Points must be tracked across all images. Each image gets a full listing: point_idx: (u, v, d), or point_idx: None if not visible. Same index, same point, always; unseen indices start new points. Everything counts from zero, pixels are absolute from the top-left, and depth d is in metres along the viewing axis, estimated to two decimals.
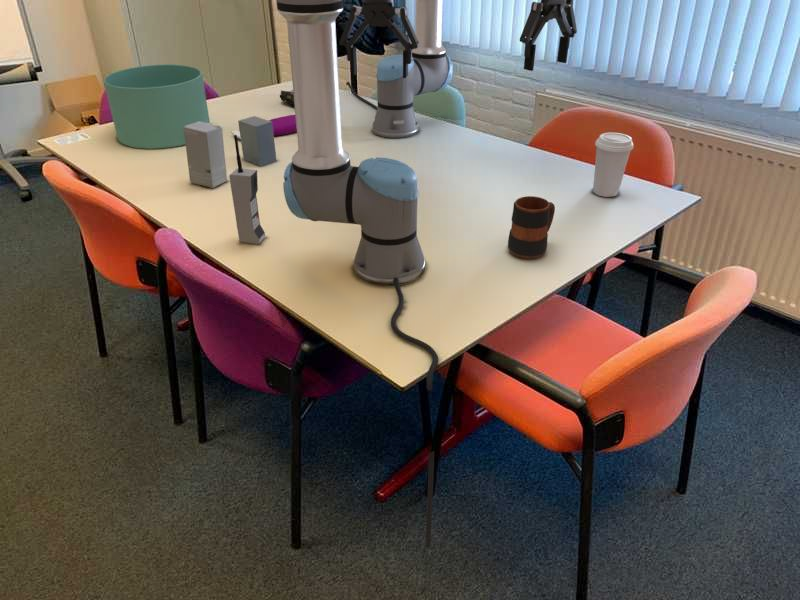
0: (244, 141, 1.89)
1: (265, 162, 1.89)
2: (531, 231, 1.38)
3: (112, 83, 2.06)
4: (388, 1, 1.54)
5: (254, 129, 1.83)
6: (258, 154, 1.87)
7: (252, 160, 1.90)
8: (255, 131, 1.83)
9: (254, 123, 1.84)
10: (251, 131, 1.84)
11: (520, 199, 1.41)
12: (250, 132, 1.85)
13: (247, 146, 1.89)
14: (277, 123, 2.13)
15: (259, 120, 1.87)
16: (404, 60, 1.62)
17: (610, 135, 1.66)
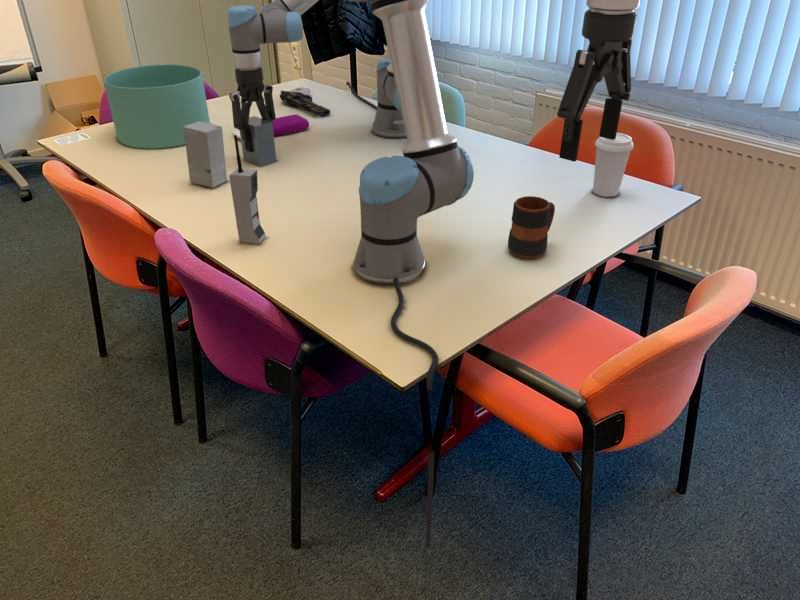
0: None
1: (265, 162, 1.89)
2: (531, 231, 1.38)
3: (112, 83, 2.06)
4: None
5: (254, 129, 1.83)
6: (258, 154, 1.87)
7: (252, 160, 1.90)
8: (255, 131, 1.83)
9: (254, 123, 1.84)
10: (251, 131, 1.84)
11: (520, 199, 1.41)
12: None
13: None
14: (277, 123, 2.13)
15: (259, 120, 1.87)
16: (619, 114, 1.08)
17: None
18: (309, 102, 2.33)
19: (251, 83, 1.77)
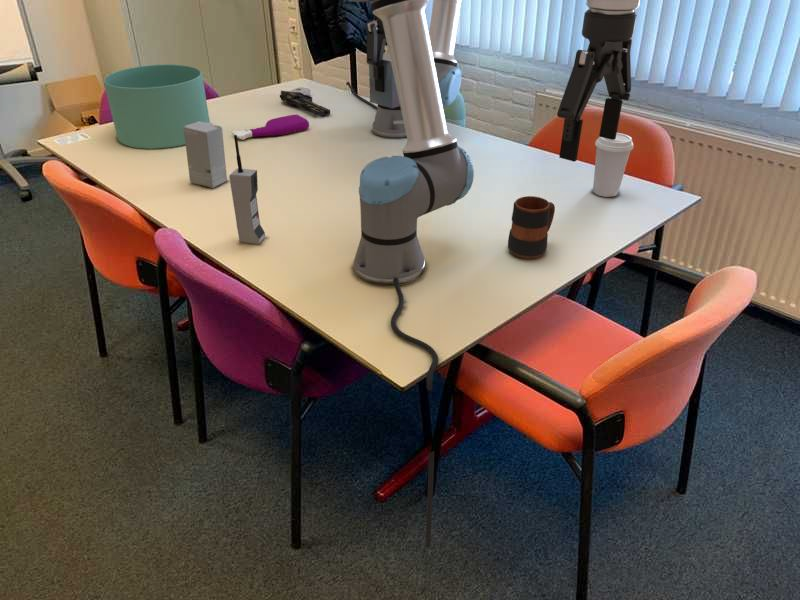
0: (373, 80, 1.70)
1: (396, 104, 1.70)
2: (531, 231, 1.38)
3: (112, 83, 2.06)
4: None
5: (389, 64, 1.64)
6: (390, 94, 1.68)
7: (381, 102, 1.71)
8: (390, 67, 1.64)
9: (388, 59, 1.65)
10: (385, 68, 1.65)
11: (520, 199, 1.41)
12: None
13: None
14: (277, 123, 2.13)
15: None
16: (619, 114, 1.08)
17: None
18: (309, 102, 2.33)
19: None
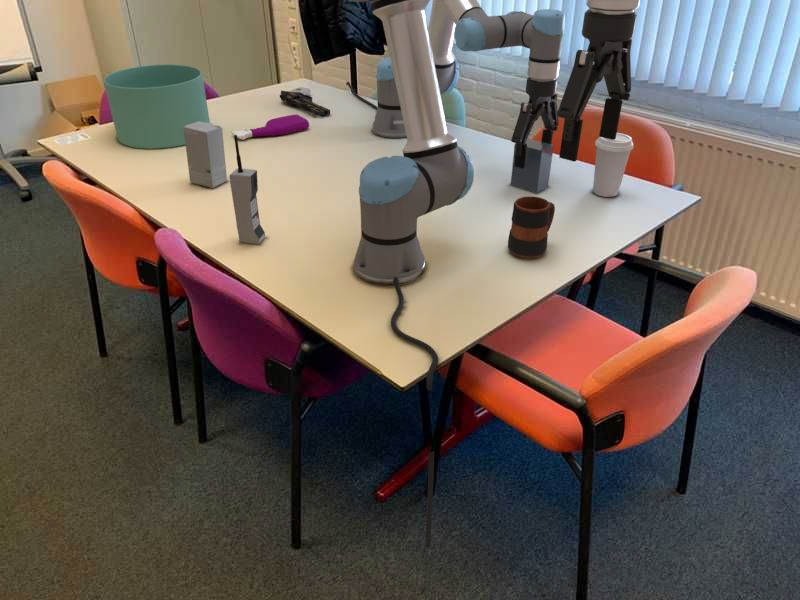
0: None
1: (540, 189, 1.73)
2: (531, 231, 1.38)
3: (112, 83, 2.06)
4: None
5: (539, 153, 1.67)
6: (536, 180, 1.71)
7: (524, 186, 1.74)
8: (539, 155, 1.67)
9: (536, 147, 1.68)
10: (533, 156, 1.68)
11: (520, 199, 1.41)
12: (531, 157, 1.69)
13: (520, 171, 1.73)
14: (277, 123, 2.13)
15: (538, 143, 1.71)
16: (619, 114, 1.08)
17: None
18: (309, 102, 2.33)
19: (547, 96, 1.59)
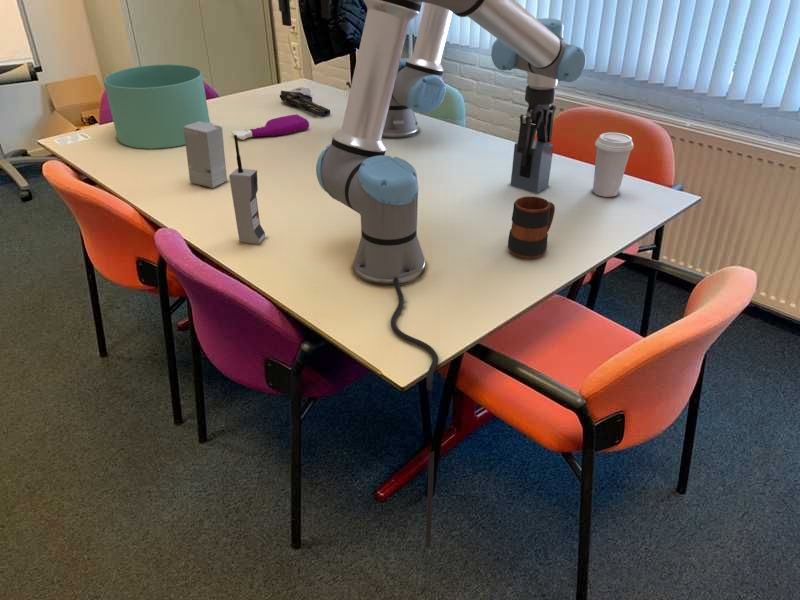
0: (517, 165, 1.73)
1: (540, 189, 1.73)
2: (531, 231, 1.38)
3: (112, 83, 2.06)
4: None
5: (539, 153, 1.67)
6: (536, 180, 1.71)
7: (524, 186, 1.74)
8: (539, 155, 1.67)
9: (536, 147, 1.68)
10: (533, 156, 1.68)
11: (520, 199, 1.41)
12: None
13: None
14: (277, 123, 2.13)
15: (538, 143, 1.71)
16: None
17: (610, 135, 1.66)
18: (309, 102, 2.33)
19: None
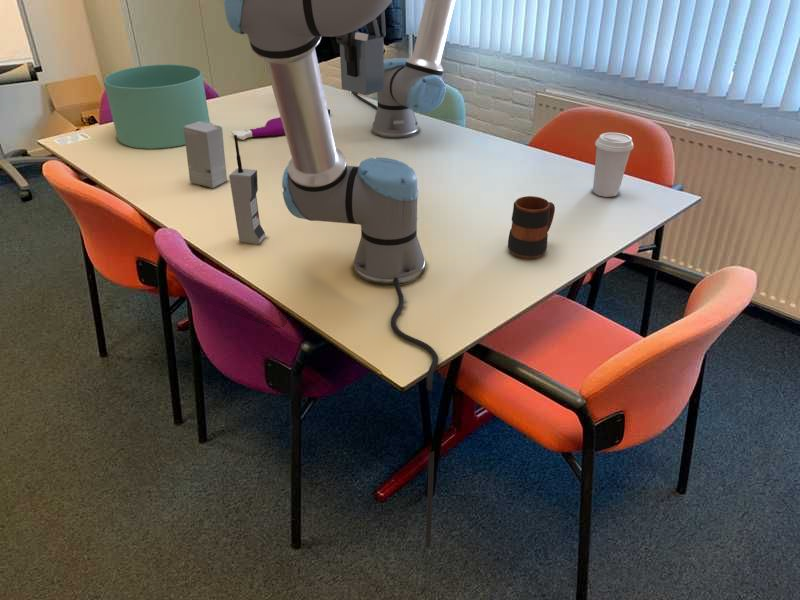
0: (345, 63, 1.48)
1: (371, 90, 1.49)
2: (531, 231, 1.38)
3: (112, 83, 2.06)
4: None
5: (362, 44, 1.42)
6: (364, 79, 1.46)
7: (354, 88, 1.49)
8: (363, 47, 1.42)
9: (361, 38, 1.44)
10: (357, 48, 1.44)
11: (520, 199, 1.41)
12: None
13: None
14: (277, 123, 2.13)
15: (366, 35, 1.46)
16: None
17: (610, 135, 1.66)
18: None
19: None
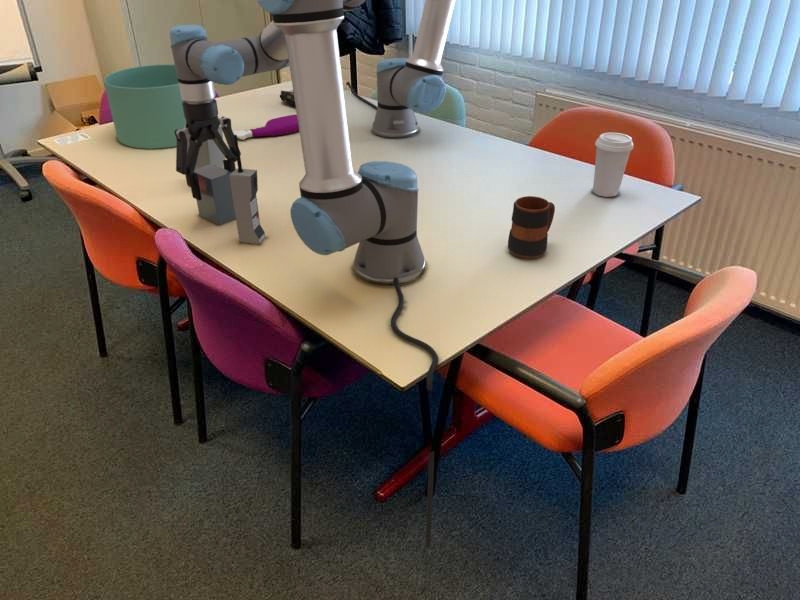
0: None
1: (224, 220, 1.57)
2: (531, 231, 1.38)
3: (112, 83, 2.06)
4: None
5: (209, 182, 1.51)
6: (215, 211, 1.55)
7: (209, 217, 1.58)
8: (210, 184, 1.51)
9: (209, 175, 1.52)
10: (206, 184, 1.52)
11: (520, 199, 1.41)
12: (205, 185, 1.53)
13: (202, 201, 1.57)
14: (277, 123, 2.13)
15: (217, 170, 1.55)
16: (232, 171, 1.57)
17: (610, 135, 1.66)
18: None
19: None
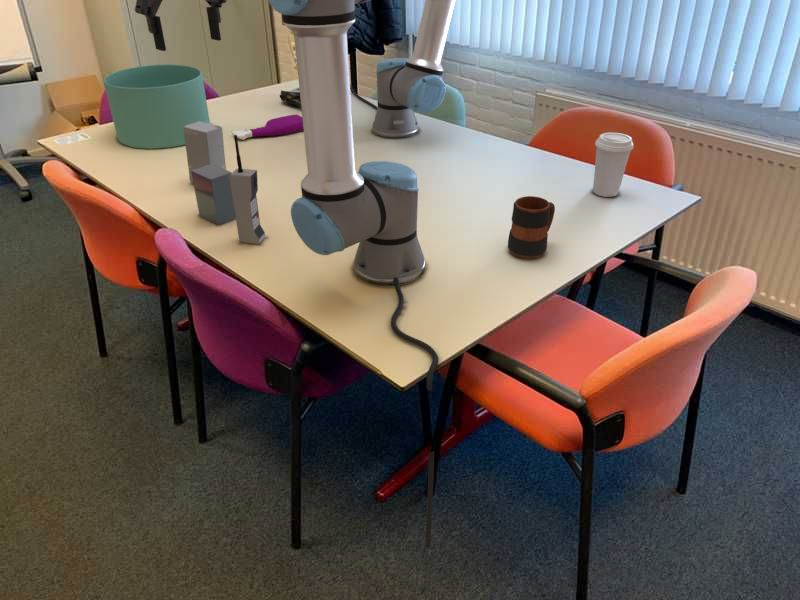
0: (198, 194, 1.57)
1: (224, 220, 1.57)
2: (531, 231, 1.38)
3: (112, 83, 2.06)
4: None
5: (209, 181, 1.51)
6: (215, 211, 1.55)
7: (209, 217, 1.58)
8: (210, 184, 1.51)
9: (209, 175, 1.52)
10: (206, 184, 1.52)
11: (520, 199, 1.41)
12: (205, 185, 1.53)
13: (202, 201, 1.57)
14: (277, 123, 2.13)
15: (217, 170, 1.55)
16: (216, 19, 1.40)
17: (610, 135, 1.66)
18: None
19: None
